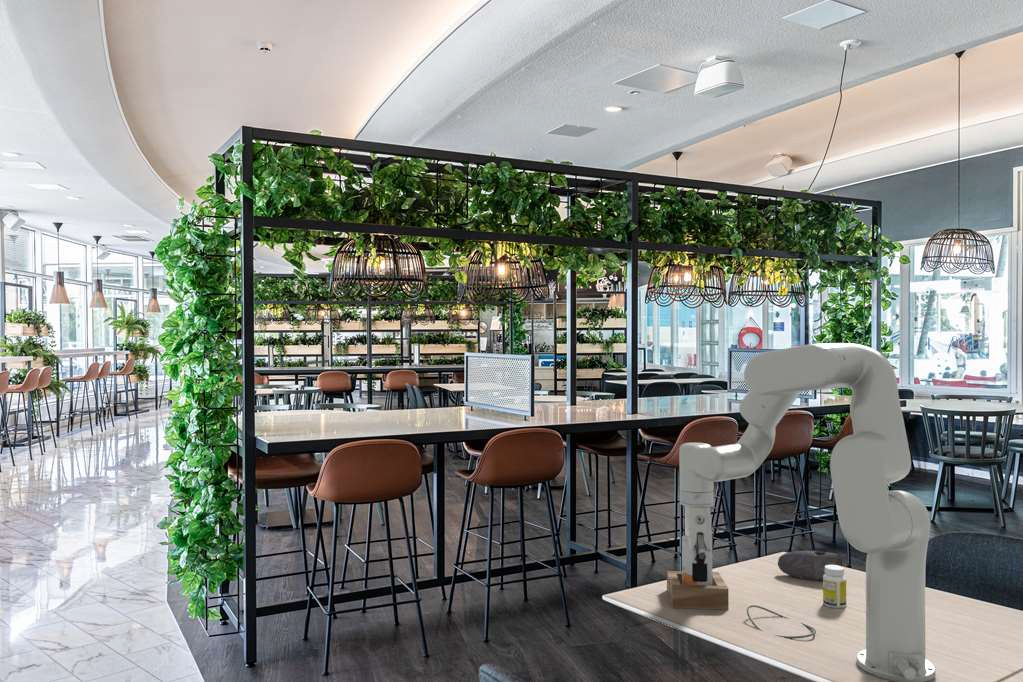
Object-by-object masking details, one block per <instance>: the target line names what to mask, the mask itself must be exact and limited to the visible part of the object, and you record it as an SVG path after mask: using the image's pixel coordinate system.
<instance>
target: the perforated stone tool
mask: <svg viewBox="0 0 1023 682" xmlns="http://www.w3.org/2000/svg"><path fill="white" fill-rule="evenodd" d="M843 559H844V558H843V556H841V554H839V553H834V552H826V551H818V550H797V551H796V550H795V551H788V552H786V553H784V554H782V555H780V556H779V557H778V560H777V566H778V568H779V570H780V571H782V573H783V574H786V575H787V576H790V577H798V576H799V578H801V577H802V578H801V579H803V578H804V579H805V580H811V581H823V575H824V574H826V573H825V566H826V565H838V566H842V567H843V566H844V565H843ZM804 579H803V580H804Z"/></svg>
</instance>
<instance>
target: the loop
mask: <svg viewBox="0 0 1023 682" xmlns="http://www.w3.org/2000/svg"><path fill="white" fill-rule="evenodd" d="M750 608H758V609H760V610H763V611H766V612H768V613H771V614H773V615H776V616H779V617H781V618H783V617H784V619H789V620H791V618H789V617H788V616H785V615H782V614H780V613H777V612H775V611H773V610H770V609H768V608H766V607H763V606H761V605H756V604H751V605H748V606H747V607H746V615H747V616H748V619H749V620H750V623H752V625H753V626H754V627H755V629H757V630H758V631H761V632H764V630H762V628H760V627H759V626H758V625H757V624H756V623H755V622H754V621H753V619H752V617H751V614H750V612H749V611H750ZM800 624H802V625H803V626H805V628H808V629H810V630H812V631H813V632H812V633H808V634H806V635H804V634H803V635H797V636H795V635H793V636H789V635H779V634H778V635H776V634H775V636H776V637H780V638H783V637H784V639H789V638H790V639H804V638H808V637H812V636H814V635H815V634H816V632H817V630H816V629H815V628H814V627H812V626H810V625H808V624H805V623H803V622H800Z"/></svg>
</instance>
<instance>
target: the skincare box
mask: <svg viewBox="0 0 1023 682" xmlns="http://www.w3.org/2000/svg"><path fill="white" fill-rule="evenodd" d="M705 546H706V545H705ZM695 549H698V542H697V546H696V547H695ZM697 554H699V553H696V555H697ZM706 559H707V582H694V581H693V580H692V563H694V561H693V551H692V550H690V548H689V547H688V542H687V537H686V535H685V534H684V535H682V536H681V571H682V585H711V586H713V585H712V572H713V550H712V551H709V550H707V548H706Z"/></svg>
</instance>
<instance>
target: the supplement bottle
mask: <svg viewBox="0 0 1023 682" xmlns="http://www.w3.org/2000/svg"><path fill="white" fill-rule="evenodd" d="M825 573H826V574H824V575H823V579H822V603H823V604H824V605H825V606H826V607H829V608H833V609H844V608H846V607H847V578H846V576H845V568H844V567H843V566H838V565H826V566H825Z"/></svg>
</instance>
